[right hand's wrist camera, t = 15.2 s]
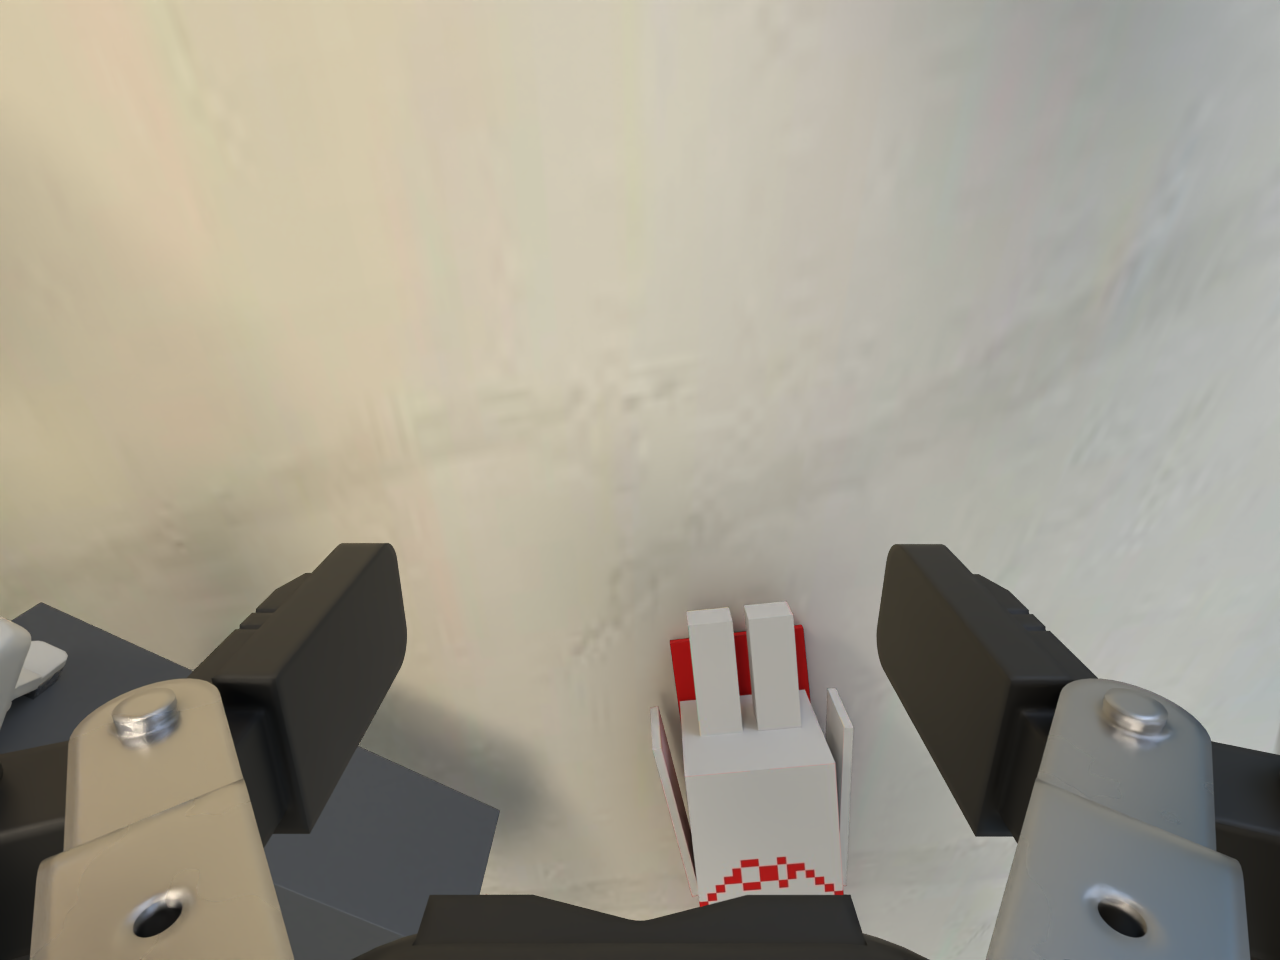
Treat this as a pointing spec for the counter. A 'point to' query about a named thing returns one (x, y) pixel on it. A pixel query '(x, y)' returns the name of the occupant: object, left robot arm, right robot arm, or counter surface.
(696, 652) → the toy
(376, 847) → the bar
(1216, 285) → the counter surface
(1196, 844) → the right robot arm
